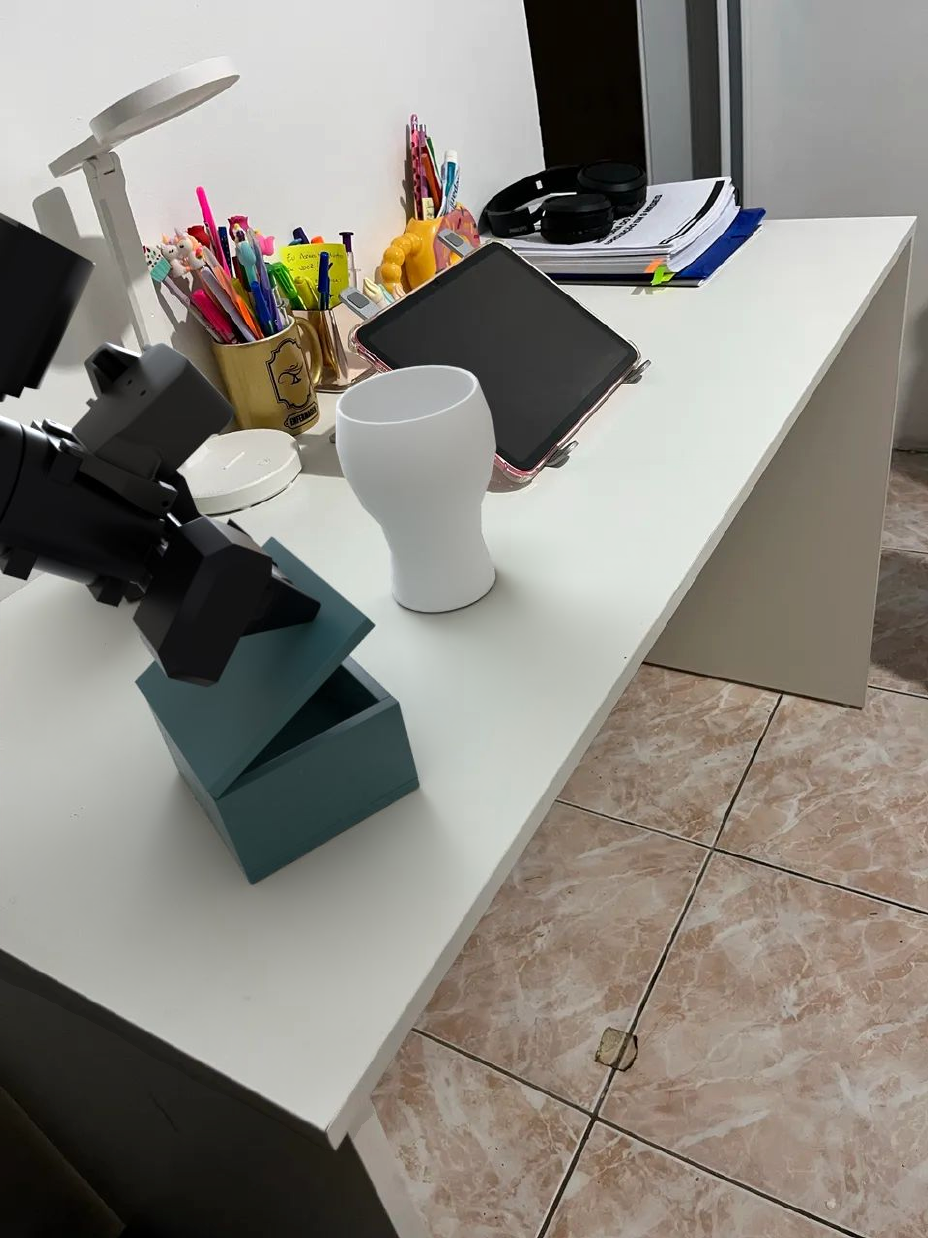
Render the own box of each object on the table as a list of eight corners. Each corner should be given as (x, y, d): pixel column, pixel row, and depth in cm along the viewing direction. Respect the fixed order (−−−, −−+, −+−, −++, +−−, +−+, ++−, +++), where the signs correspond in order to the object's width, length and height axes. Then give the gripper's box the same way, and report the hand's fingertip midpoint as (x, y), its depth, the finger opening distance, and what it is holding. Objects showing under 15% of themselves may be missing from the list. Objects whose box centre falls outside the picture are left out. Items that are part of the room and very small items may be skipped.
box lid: (280, 543, 56) (235, 500, 53) (376, 625, 47) (328, 580, 44) (144, 688, 55) (90, 652, 52) (217, 799, 46) (158, 763, 43)
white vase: (489, 631, 65) (455, 428, 56) (350, 619, 69) (298, 428, 60) (531, 548, 73) (507, 359, 64) (404, 542, 76) (365, 363, 68)
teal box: (328, 691, 62) (305, 612, 59) (420, 786, 54) (399, 702, 50) (177, 769, 58) (141, 690, 54) (251, 886, 50) (214, 802, 46)
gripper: (142, 358, 32) (461, 515, 43) (24, 276, 46) (288, 410, 56) (9, 644, 34) (349, 727, 44) (-67, 483, 47) (207, 576, 58)
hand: (294, 591), depth 51 cm, fingers closed on box lid, 5 cm apart
